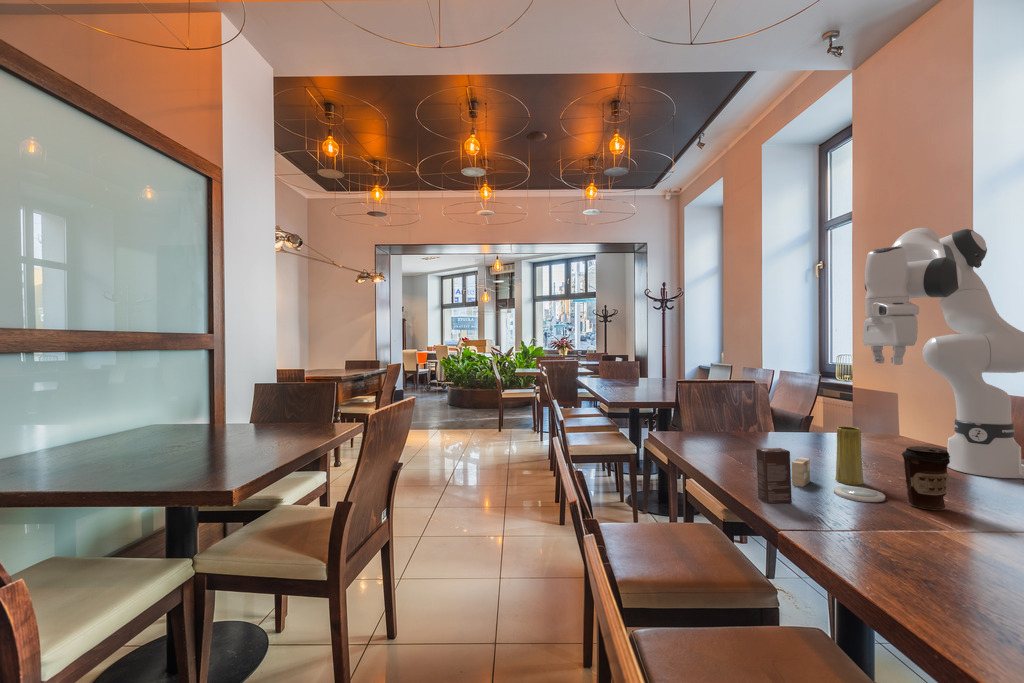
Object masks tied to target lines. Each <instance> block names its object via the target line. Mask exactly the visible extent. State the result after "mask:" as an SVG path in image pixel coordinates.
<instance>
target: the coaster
mask: <svg viewBox="0 0 1024 683" xmlns="http://www.w3.org/2000/svg"><path fill="white" fill-rule="evenodd" d="M833 494H835V495H836V496H837V497H839V498H840V497H841V498H844V499H847V500H850V501H856V502H863V503H882V502H885V501H886V495H885V494H884V493H883V492H881V491H878V490H875V489H872V488H871V489H870V488H867V487H862V486H855V485H841V486H840V485H839V486H835V487H834V488H833Z"/></svg>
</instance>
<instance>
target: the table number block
mask: <svg viewBox="0 0 1024 683" xmlns="http://www.w3.org/2000/svg"><path fill="white" fill-rule="evenodd" d="M810 463H811V460H810V458H805V457H800V456H799V457H797V458H796V459H795V460H793V461H792V462H791V486H796V487H801V488H803V487H804V486H806V485H807V484H808V483H810V482H811V464H810Z"/></svg>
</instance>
